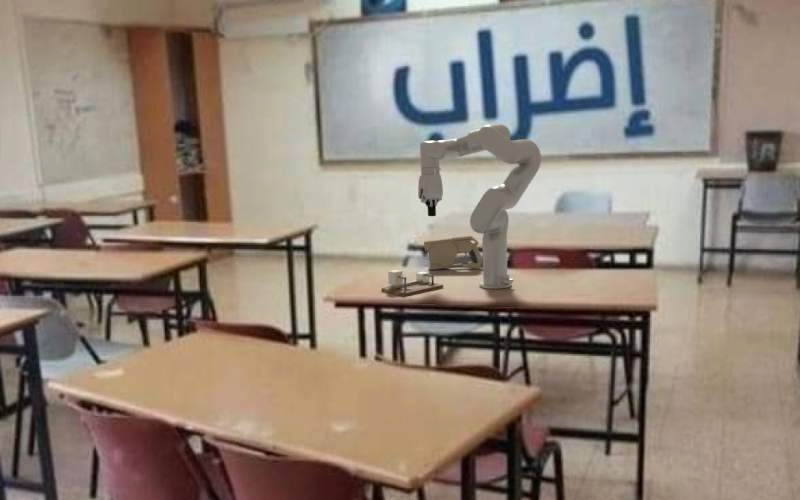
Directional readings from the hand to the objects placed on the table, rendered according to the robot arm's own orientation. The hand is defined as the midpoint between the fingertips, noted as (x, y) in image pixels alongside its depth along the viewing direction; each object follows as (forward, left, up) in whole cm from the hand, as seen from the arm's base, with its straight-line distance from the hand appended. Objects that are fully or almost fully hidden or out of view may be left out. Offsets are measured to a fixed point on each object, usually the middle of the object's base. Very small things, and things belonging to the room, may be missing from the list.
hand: (431, 215), depth 329 cm
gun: (+9, -19, -27) cm, 34 cm away
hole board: (-9, +19, -26) cm, 34 cm away
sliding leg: (-8, +25, -25) cm, 36 cm away
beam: (-8, +19, -25) cm, 32 cm away
